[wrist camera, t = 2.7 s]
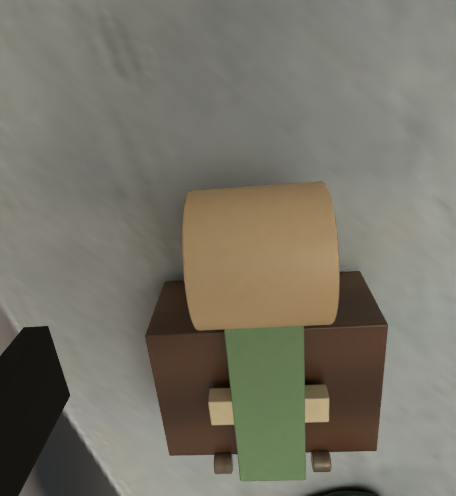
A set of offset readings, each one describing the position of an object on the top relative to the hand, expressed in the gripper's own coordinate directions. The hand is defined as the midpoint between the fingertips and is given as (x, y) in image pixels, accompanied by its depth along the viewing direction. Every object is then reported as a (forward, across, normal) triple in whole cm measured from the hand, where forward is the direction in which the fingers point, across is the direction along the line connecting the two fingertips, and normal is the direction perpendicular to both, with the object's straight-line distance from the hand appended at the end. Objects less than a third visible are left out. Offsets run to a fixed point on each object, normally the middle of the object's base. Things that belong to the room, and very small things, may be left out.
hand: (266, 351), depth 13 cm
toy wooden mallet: (+9, 0, -5) cm, 10 cm away
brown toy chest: (+12, 0, -9) cm, 15 cm away
